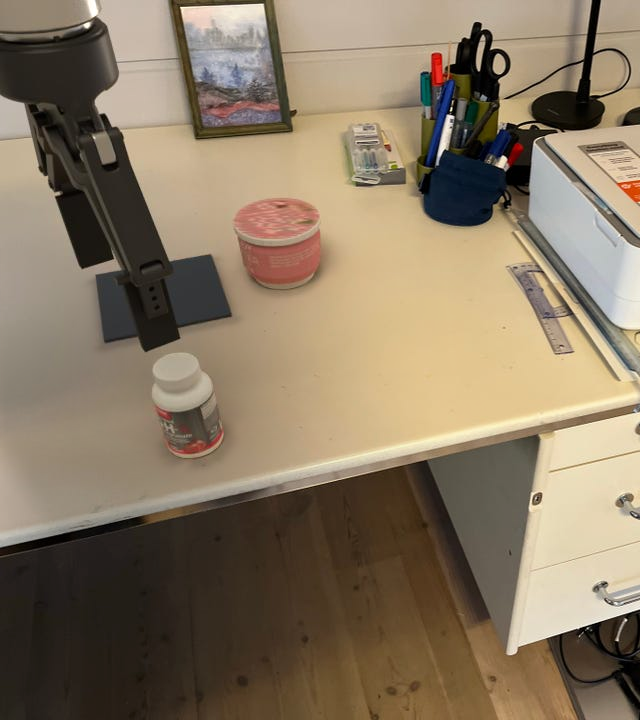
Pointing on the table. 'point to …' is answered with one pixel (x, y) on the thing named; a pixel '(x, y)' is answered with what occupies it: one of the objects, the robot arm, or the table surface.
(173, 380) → the pill bottle
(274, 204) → the container
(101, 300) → the mat
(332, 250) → the table surface
